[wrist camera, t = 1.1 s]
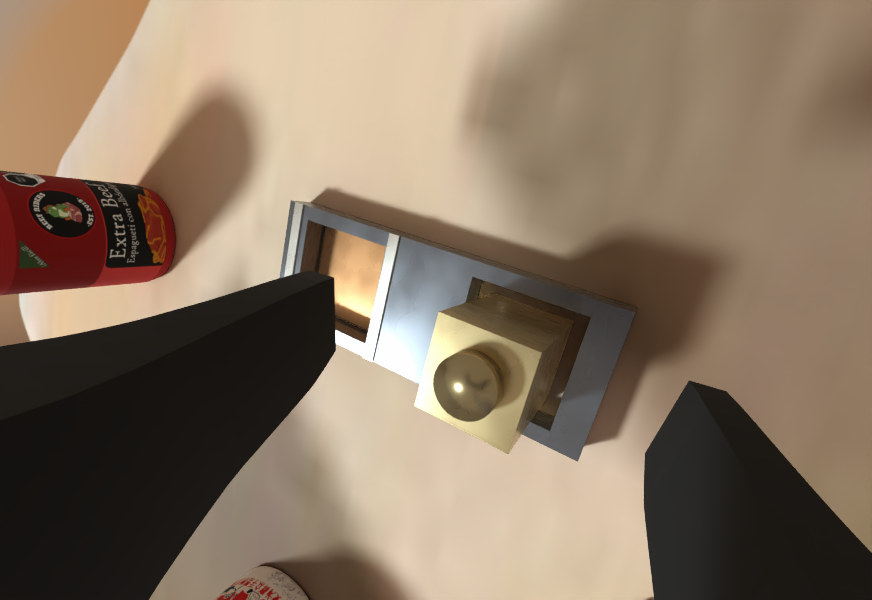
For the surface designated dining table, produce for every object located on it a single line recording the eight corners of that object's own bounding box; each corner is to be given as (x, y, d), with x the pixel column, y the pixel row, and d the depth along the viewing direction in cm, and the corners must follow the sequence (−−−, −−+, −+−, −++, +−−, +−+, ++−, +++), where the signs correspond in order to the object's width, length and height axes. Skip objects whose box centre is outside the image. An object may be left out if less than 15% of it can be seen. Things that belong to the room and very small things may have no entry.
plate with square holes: (583, 446, 20) (577, 462, 18) (292, 309, 27) (273, 313, 26) (637, 307, 18) (635, 313, 16) (309, 202, 25) (289, 200, 24)
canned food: (189, 264, 32) (-14, 276, 22) (137, 293, 36) (-55, 313, 26) (160, 169, 32) (-54, 139, 22) (112, 207, 36) (-89, 196, 26)
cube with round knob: (547, 397, 20) (500, 464, 14) (473, 365, 22) (403, 413, 16) (573, 321, 19) (535, 358, 13) (494, 293, 21) (428, 314, 15)
